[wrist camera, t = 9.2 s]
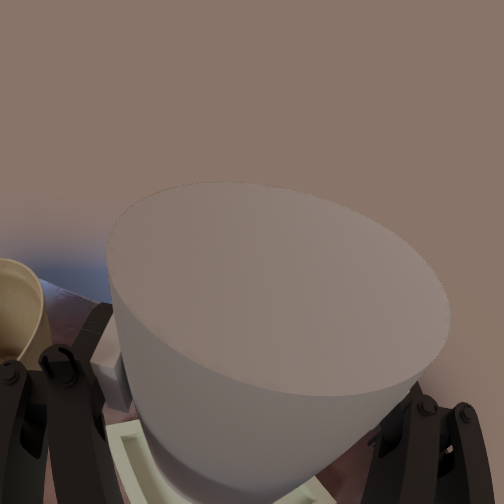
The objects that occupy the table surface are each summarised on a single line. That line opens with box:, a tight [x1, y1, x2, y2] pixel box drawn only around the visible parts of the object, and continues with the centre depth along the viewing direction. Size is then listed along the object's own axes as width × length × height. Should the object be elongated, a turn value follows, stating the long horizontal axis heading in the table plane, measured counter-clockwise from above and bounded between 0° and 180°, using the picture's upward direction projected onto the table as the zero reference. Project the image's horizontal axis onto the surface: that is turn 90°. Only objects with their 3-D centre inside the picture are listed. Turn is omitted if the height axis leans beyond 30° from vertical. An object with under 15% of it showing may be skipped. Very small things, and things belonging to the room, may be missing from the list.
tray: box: [106, 419, 337, 504], centre depth 17 cm, size 14×14×2 cm
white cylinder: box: [106, 182, 451, 504], centre depth 10 cm, size 8×8×12 cm
